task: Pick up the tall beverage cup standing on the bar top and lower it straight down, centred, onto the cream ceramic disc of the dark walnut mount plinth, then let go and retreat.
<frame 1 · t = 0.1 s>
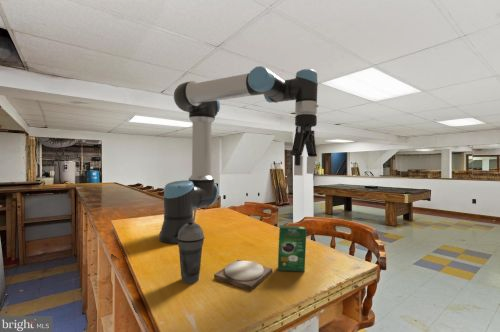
hand: (304, 174, 89), 28 cm above the table, fingers open, 13 cm apart
beverage cup: (190, 280, 68), on the table
coffee box: (291, 270, 75), on the table
mount: (244, 275, 71), on the table
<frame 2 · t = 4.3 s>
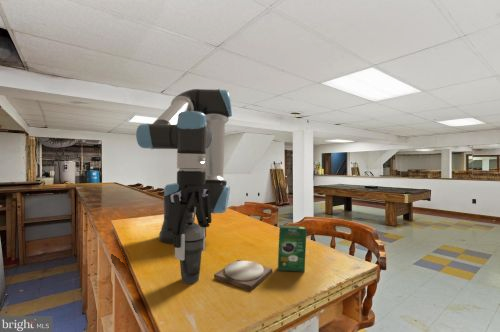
hand: (190, 254, 68), 7 cm above the table, fingers closed on beverage cup, 7 cm apart
beverage cup: (190, 280, 68), on the table, touching gripper
everything else where it was.
when the fingers open (10 cm above the table, at t = 9.6 s): beverage cup drops 1 cm, resting on mount.
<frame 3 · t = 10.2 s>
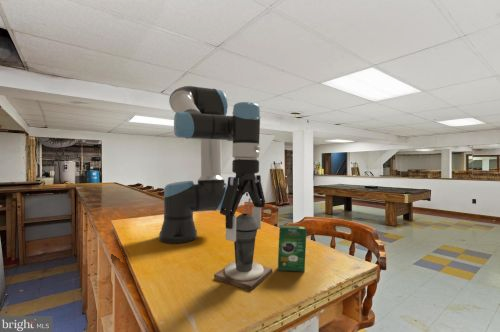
hand: (244, 234, 71), 12 cm above the table, fingers open, 13 cm apart
beverage cup: (243, 269, 71), point 2 cm above the table, touching mount
everything else where it was.
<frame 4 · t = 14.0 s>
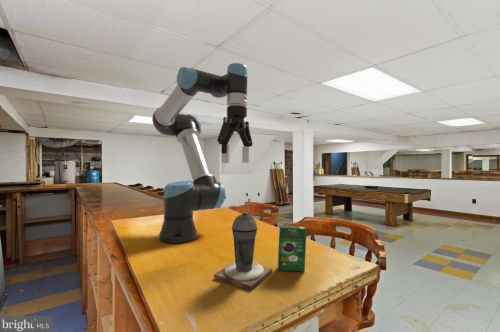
hand: (236, 162, 95), 32 cm above the table, fingers open, 13 cm apart
nothing on the table moved.
at the end: beverage cup 0.1 cm from the mount (horizontally); beverage cup tilted 0°; beverage cup touching mount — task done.
